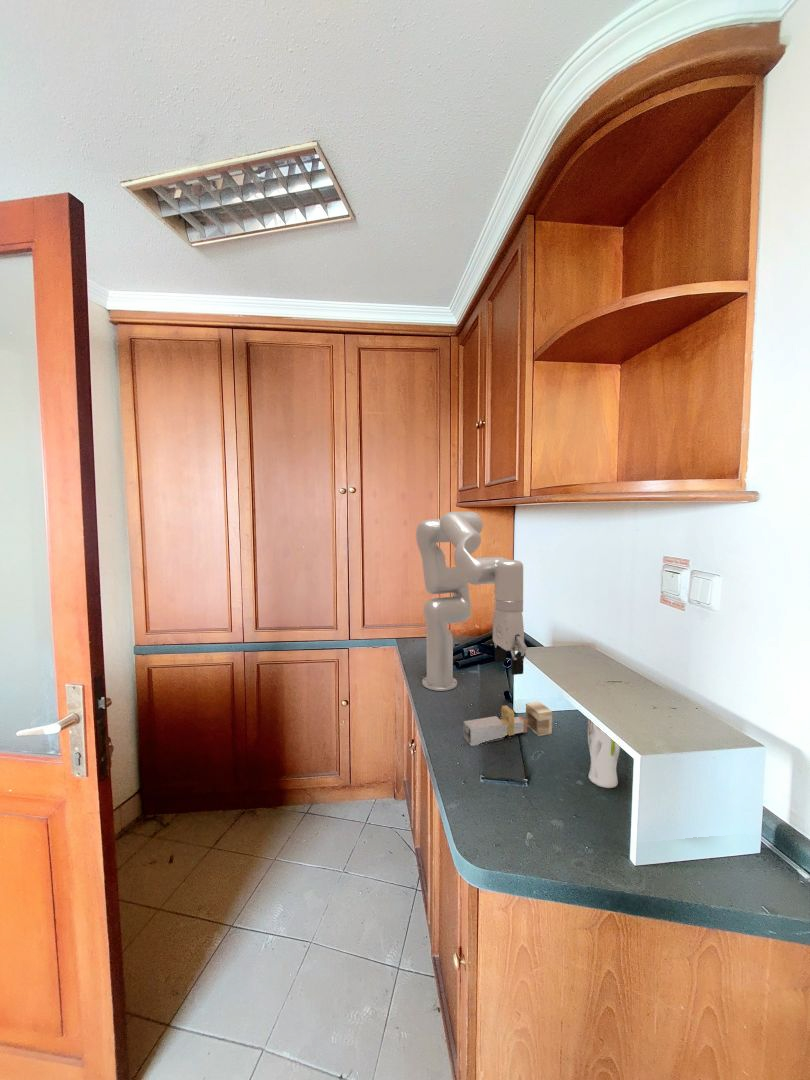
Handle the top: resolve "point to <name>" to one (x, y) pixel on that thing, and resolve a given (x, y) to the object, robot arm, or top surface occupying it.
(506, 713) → the beige and yellow bar
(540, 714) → the socket block
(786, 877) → the top surface
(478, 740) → the sleeve
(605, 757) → the beer glass
